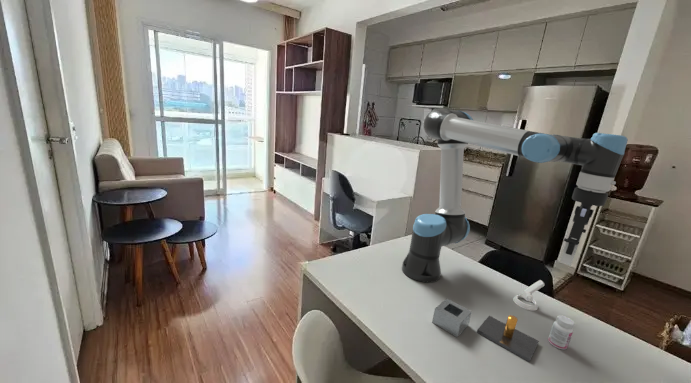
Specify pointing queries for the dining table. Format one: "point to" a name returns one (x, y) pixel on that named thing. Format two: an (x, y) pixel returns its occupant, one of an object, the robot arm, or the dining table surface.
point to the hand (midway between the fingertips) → (567, 256)
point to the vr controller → (529, 296)
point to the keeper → (508, 336)
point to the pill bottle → (561, 332)
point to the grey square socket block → (451, 317)
